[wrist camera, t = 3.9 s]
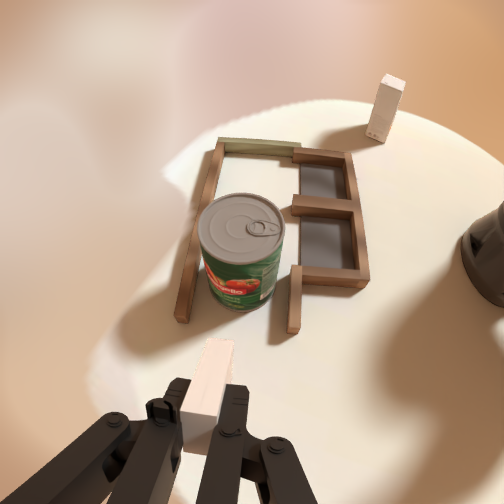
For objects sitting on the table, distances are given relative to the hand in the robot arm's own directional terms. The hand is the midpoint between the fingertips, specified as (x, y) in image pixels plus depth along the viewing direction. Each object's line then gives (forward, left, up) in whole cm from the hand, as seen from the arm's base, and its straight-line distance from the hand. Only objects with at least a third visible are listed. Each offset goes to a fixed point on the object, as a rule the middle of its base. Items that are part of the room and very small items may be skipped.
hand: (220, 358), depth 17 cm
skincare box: (-46, -25, -15) cm, 54 cm away
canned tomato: (-7, -11, -15) cm, 20 cm away
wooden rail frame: (-16, -16, -15) cm, 27 cm away
